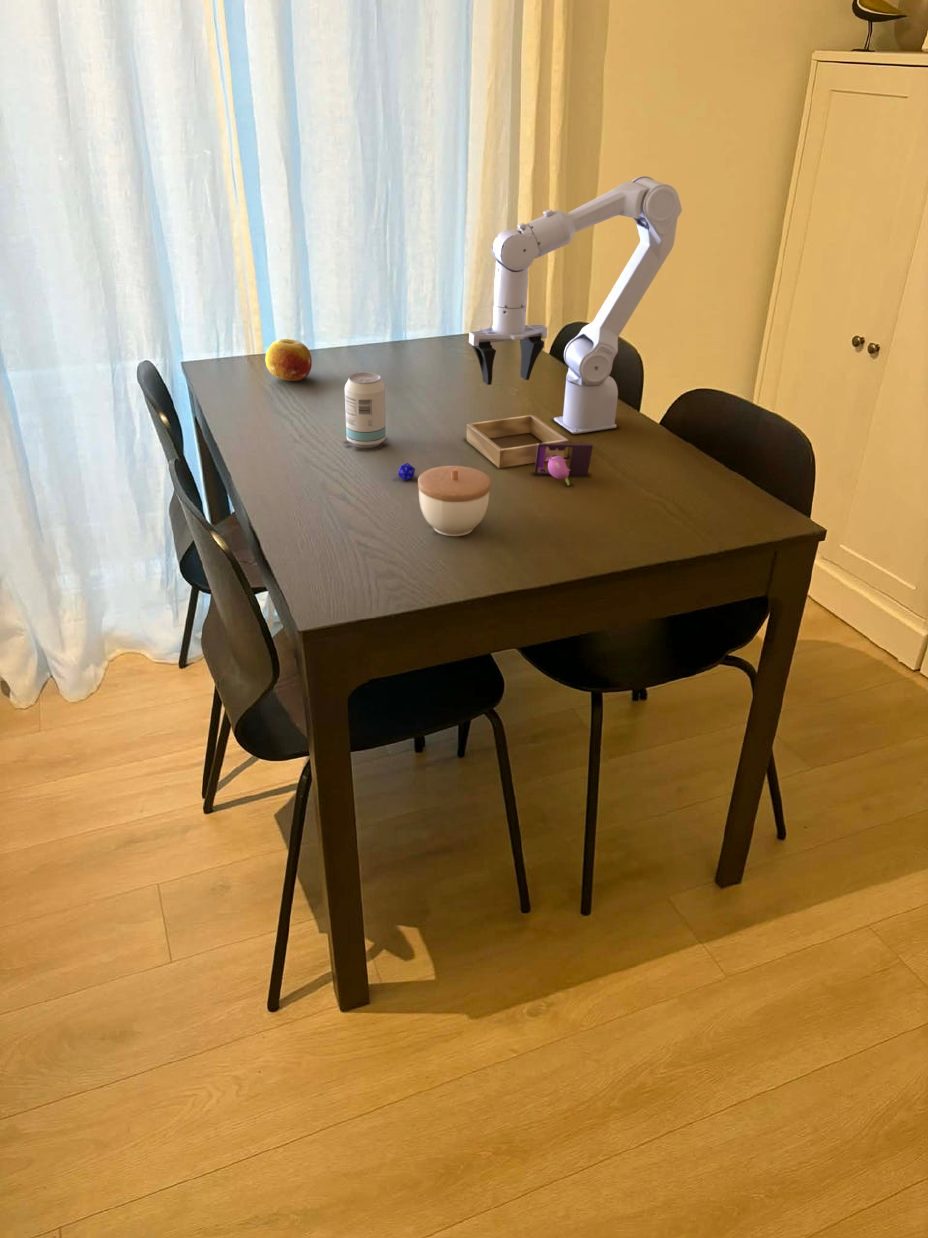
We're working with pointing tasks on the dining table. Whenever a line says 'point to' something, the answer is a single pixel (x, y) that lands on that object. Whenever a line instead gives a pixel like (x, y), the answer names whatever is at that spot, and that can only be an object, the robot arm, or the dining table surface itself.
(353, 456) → the dining table surface
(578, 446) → the purple monster figurine
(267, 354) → the fruit
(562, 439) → the birch box
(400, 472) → the die
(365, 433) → the beverage can
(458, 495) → the trinket box
